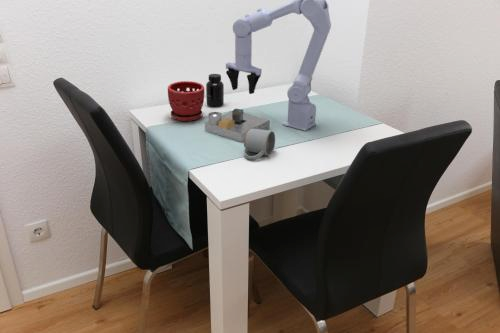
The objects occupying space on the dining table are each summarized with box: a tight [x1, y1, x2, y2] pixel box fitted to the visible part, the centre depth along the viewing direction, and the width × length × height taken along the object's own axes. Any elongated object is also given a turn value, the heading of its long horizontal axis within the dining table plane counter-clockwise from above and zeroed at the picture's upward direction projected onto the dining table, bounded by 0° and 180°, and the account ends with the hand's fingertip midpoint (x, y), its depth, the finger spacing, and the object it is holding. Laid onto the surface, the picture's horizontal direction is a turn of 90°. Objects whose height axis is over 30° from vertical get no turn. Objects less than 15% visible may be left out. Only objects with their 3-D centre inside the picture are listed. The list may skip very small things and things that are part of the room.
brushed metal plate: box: [204, 110, 271, 143], centre depth 163 cm, size 16×16×6 cm
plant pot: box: [167, 80, 205, 122], centre depth 172 cm, size 13×13×12 cm
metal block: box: [231, 108, 244, 125], centre depth 163 cm, size 3×3×7 cm
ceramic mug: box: [243, 129, 276, 161], centre depth 145 cm, size 11×8×8 cm
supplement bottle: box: [205, 73, 225, 108], centre depth 185 cm, size 7×7×12 cm
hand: (243, 91), depth 171 cm, fingers open, 7 cm apart
